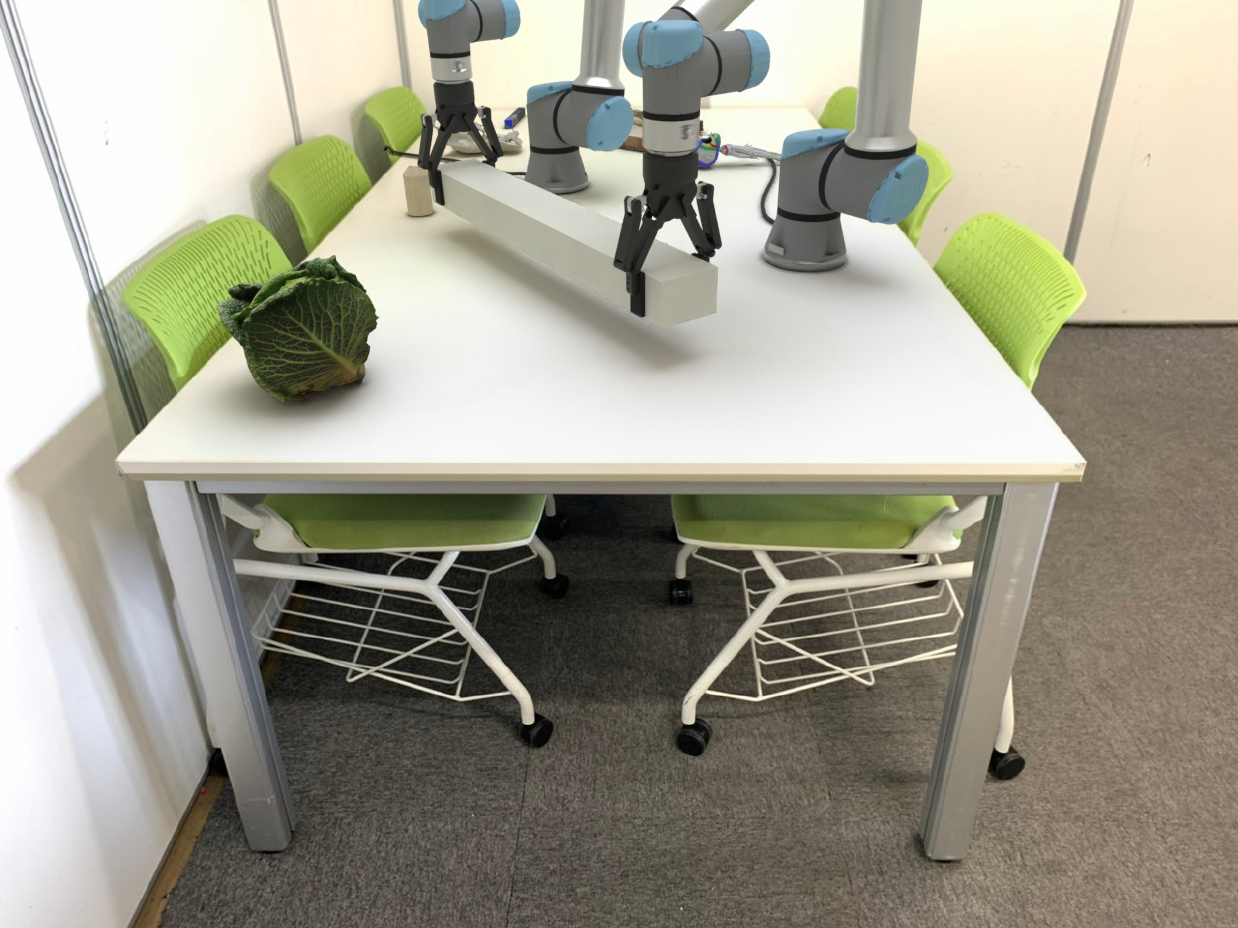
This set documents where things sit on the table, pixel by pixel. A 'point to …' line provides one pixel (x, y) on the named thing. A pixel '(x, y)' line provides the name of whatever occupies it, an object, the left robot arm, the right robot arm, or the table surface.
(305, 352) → the vegetable
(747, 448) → the table surface
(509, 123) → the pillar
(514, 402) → the table surface
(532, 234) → the light grey rectangular bar
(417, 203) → the candle
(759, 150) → the toy
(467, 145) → the anatomical model
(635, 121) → the plaque
